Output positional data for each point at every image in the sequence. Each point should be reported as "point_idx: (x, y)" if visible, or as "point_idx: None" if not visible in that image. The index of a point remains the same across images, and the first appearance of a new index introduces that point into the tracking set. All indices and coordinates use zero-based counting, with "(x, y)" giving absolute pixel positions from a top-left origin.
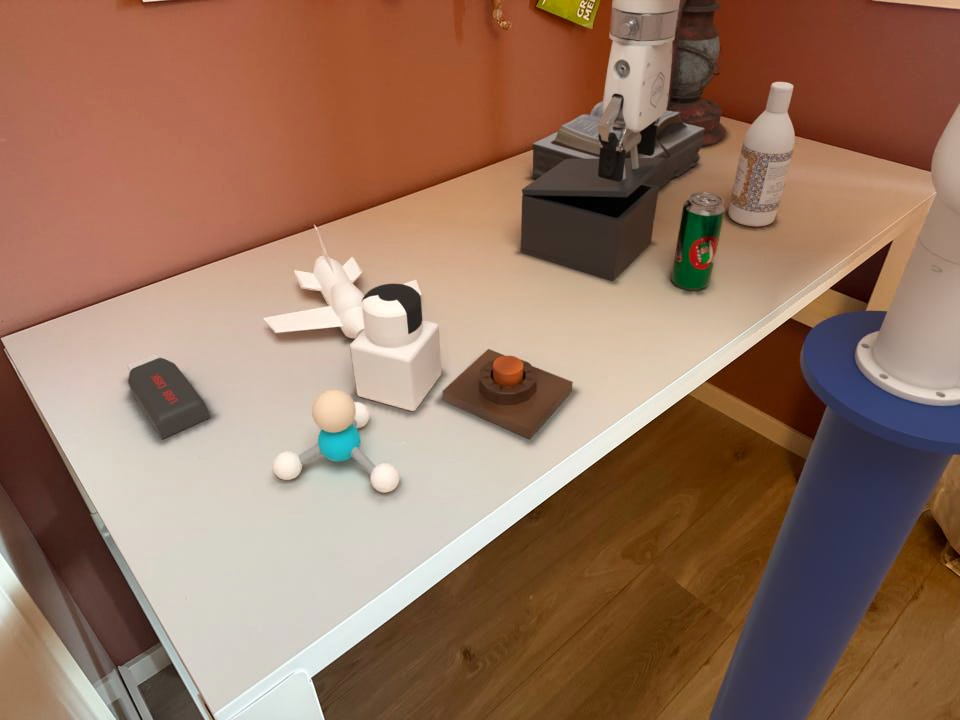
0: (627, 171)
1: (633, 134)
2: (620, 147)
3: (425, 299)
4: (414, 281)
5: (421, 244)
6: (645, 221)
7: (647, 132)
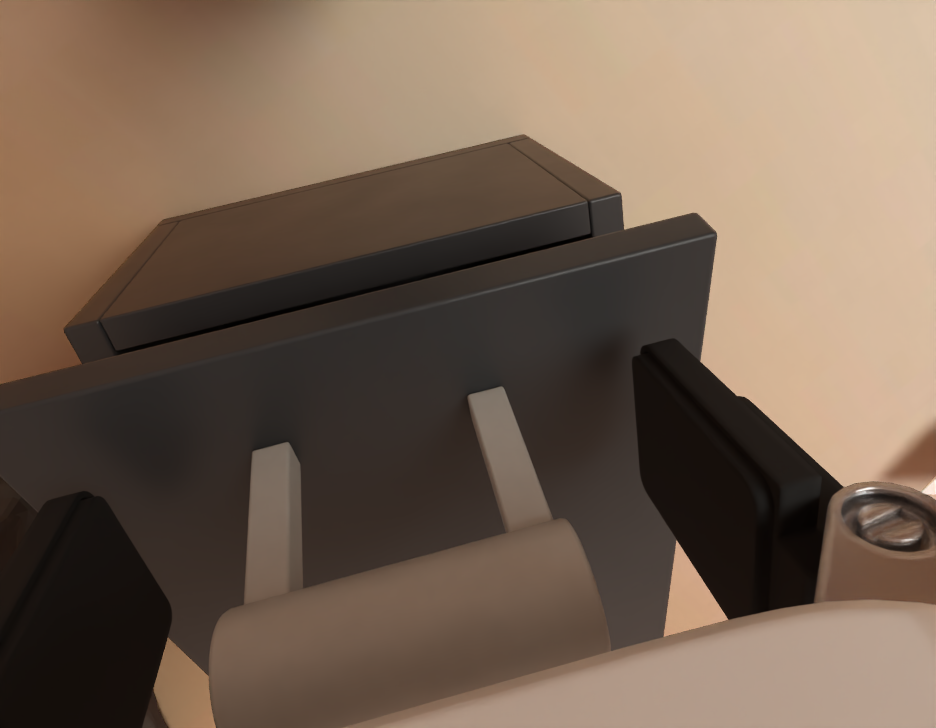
0: (348, 460)
1: (335, 695)
2: (885, 524)
3: (906, 435)
4: (930, 489)
5: (694, 620)
6: (246, 237)
7: (51, 695)
